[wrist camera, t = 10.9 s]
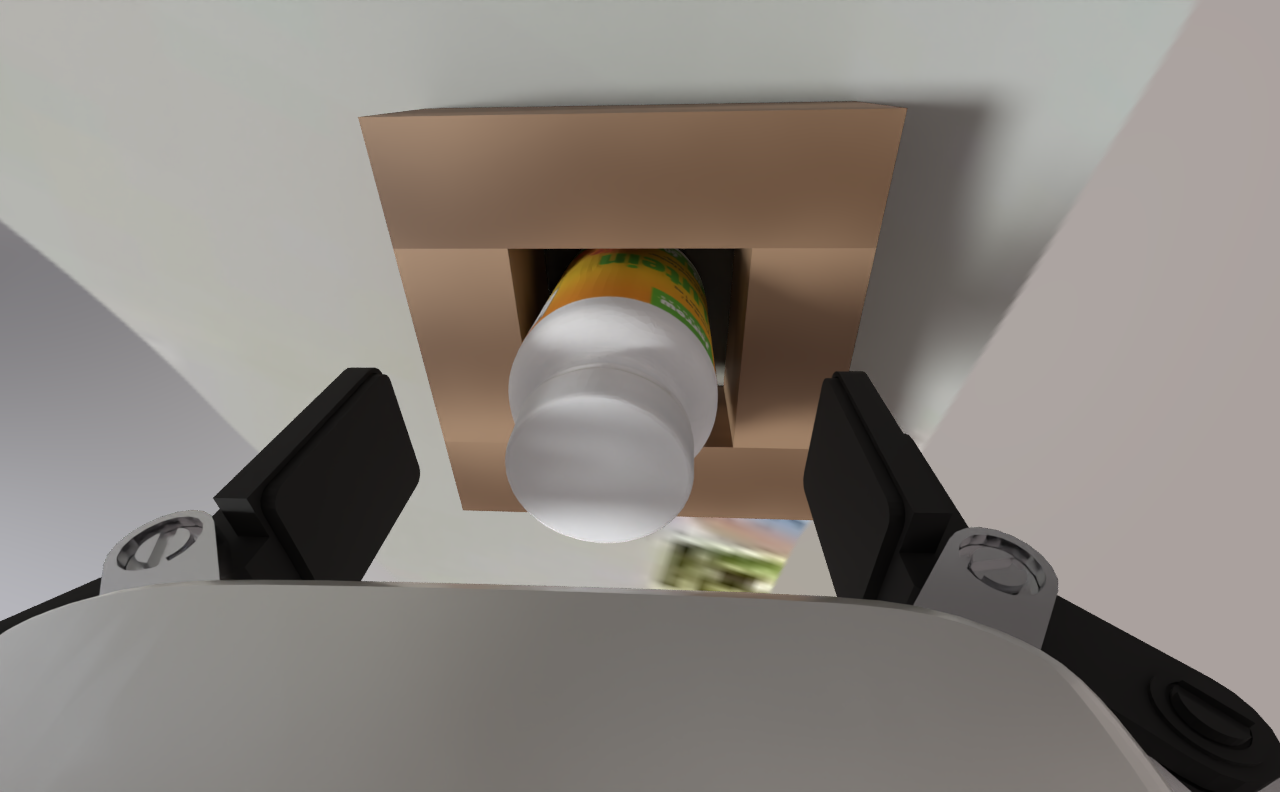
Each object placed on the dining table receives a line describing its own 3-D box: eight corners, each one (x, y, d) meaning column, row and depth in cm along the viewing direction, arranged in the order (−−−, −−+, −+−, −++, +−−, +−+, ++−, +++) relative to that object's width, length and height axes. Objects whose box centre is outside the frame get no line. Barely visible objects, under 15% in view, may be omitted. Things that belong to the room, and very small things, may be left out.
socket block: (425, 108, 16) (358, 117, 13) (855, 101, 15) (906, 108, 12) (494, 445, 23) (462, 510, 19) (794, 452, 22) (815, 520, 19)
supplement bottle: (732, 266, 18) (780, 425, 10) (669, 387, 21) (665, 592, 12) (587, 202, 17) (506, 317, 9) (541, 337, 20) (446, 521, 12)
